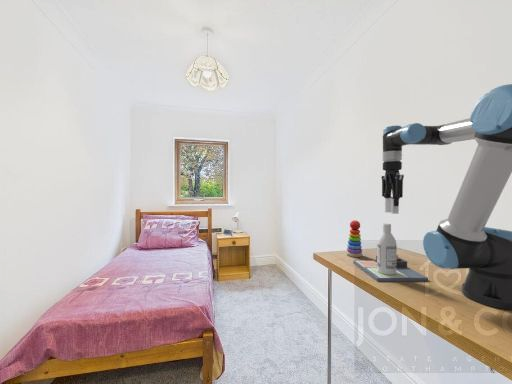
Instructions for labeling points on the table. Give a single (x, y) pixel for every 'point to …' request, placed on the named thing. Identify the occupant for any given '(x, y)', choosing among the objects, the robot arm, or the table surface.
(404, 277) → the picture board
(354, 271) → the table surface
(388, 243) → the bath foam
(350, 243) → the stacking toy
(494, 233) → the robot arm
